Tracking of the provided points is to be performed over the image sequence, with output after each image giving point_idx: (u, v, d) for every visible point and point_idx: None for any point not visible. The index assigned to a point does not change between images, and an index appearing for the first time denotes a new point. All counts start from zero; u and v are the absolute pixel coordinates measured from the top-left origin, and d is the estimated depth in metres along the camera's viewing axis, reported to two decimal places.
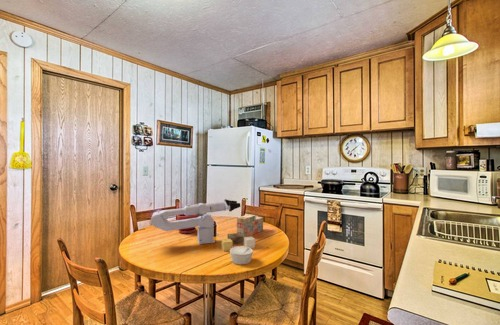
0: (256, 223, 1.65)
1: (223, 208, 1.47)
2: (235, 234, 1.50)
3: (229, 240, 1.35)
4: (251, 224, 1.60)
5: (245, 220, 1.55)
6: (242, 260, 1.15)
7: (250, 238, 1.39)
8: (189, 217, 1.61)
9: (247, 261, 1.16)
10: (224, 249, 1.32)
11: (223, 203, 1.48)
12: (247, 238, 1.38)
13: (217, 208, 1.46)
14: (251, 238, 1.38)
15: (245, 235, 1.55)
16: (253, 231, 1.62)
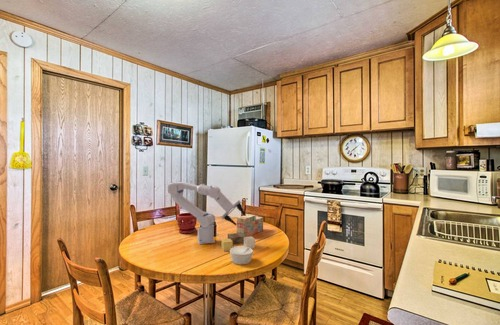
0: (256, 223, 1.65)
1: None
2: (235, 234, 1.50)
3: (229, 240, 1.35)
4: (251, 224, 1.60)
5: (245, 220, 1.55)
6: (242, 260, 1.15)
7: (250, 238, 1.39)
8: (189, 217, 1.61)
9: (247, 261, 1.16)
10: (224, 249, 1.32)
11: (226, 209, 1.42)
12: (247, 238, 1.38)
13: (222, 204, 1.42)
14: (251, 238, 1.38)
15: (245, 235, 1.56)
16: (253, 231, 1.62)
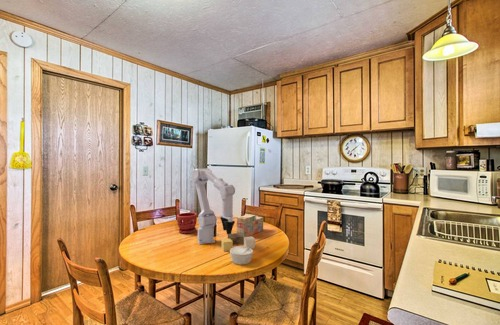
0: (256, 223, 1.65)
1: None
2: (235, 234, 1.50)
3: (229, 240, 1.35)
4: (251, 224, 1.60)
5: (245, 220, 1.55)
6: (242, 260, 1.15)
7: (250, 238, 1.39)
8: (189, 217, 1.61)
9: (247, 261, 1.16)
10: (224, 249, 1.32)
11: None
12: (247, 238, 1.38)
13: (222, 207, 1.33)
14: (251, 238, 1.38)
15: (245, 235, 1.56)
16: (253, 231, 1.62)
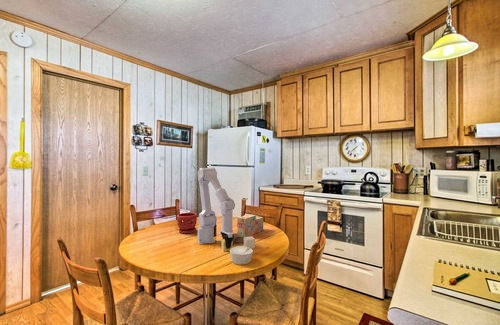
0: (256, 223, 1.65)
1: None
2: (235, 234, 1.50)
3: None
4: (251, 224, 1.60)
5: (246, 220, 1.55)
6: (242, 260, 1.15)
7: (250, 238, 1.39)
8: (189, 217, 1.61)
9: (247, 261, 1.16)
10: (224, 249, 1.32)
11: None
12: (247, 238, 1.38)
13: (222, 222, 1.33)
14: (251, 238, 1.38)
15: (246, 235, 1.56)
16: (253, 231, 1.63)
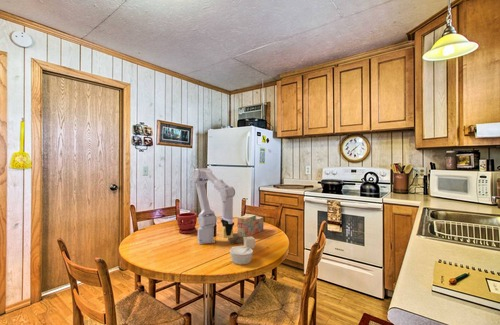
0: (257, 223, 1.66)
1: None
2: (235, 234, 1.50)
3: None
4: (251, 224, 1.61)
5: (246, 220, 1.56)
6: (242, 260, 1.15)
7: (250, 238, 1.39)
8: (189, 217, 1.61)
9: (247, 261, 1.16)
10: (224, 236, 1.32)
11: None
12: (247, 238, 1.38)
13: (222, 209, 1.33)
14: (251, 238, 1.38)
15: (246, 235, 1.56)
16: (254, 231, 1.63)
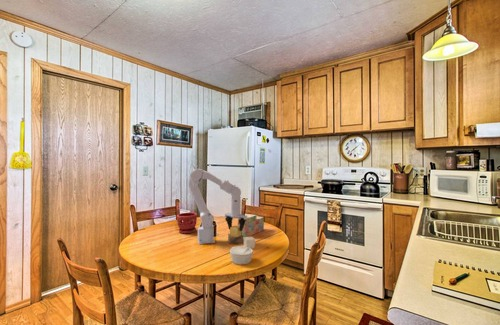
0: (257, 223, 1.66)
1: None
2: None
3: (237, 226, 1.48)
4: (252, 224, 1.61)
5: (246, 220, 1.56)
6: (242, 260, 1.15)
7: (250, 238, 1.39)
8: (189, 217, 1.61)
9: (247, 261, 1.16)
10: (237, 235, 1.45)
11: (231, 213, 1.47)
12: (247, 238, 1.38)
13: (234, 207, 1.45)
14: (251, 238, 1.38)
15: (246, 235, 1.56)
16: (254, 231, 1.63)
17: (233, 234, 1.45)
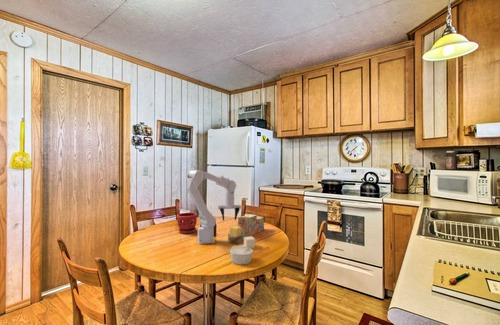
0: (257, 223, 1.66)
1: None
2: None
3: (237, 226, 1.48)
4: (252, 224, 1.61)
5: (246, 220, 1.56)
6: (242, 260, 1.15)
7: (250, 238, 1.39)
8: (189, 217, 1.61)
9: (247, 261, 1.16)
10: (236, 235, 1.45)
11: (226, 205, 1.55)
12: (247, 238, 1.38)
13: (231, 199, 1.55)
14: (251, 238, 1.38)
15: (246, 235, 1.56)
16: (254, 231, 1.63)
17: (232, 234, 1.46)
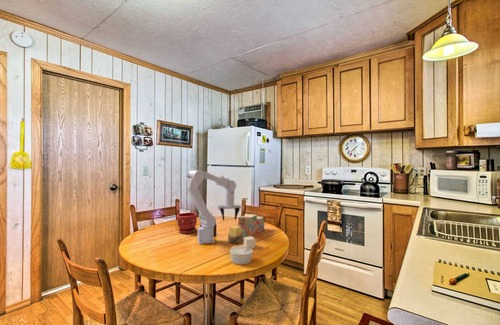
0: (257, 223, 1.66)
1: None
2: None
3: (237, 226, 1.49)
4: (252, 224, 1.61)
5: (247, 220, 1.56)
6: (242, 260, 1.15)
7: (250, 238, 1.39)
8: (189, 217, 1.61)
9: (247, 261, 1.16)
10: (236, 235, 1.45)
11: (226, 205, 1.55)
12: (247, 238, 1.38)
13: (231, 199, 1.55)
14: (251, 238, 1.38)
15: (247, 235, 1.56)
16: (254, 231, 1.63)
17: (232, 234, 1.46)
